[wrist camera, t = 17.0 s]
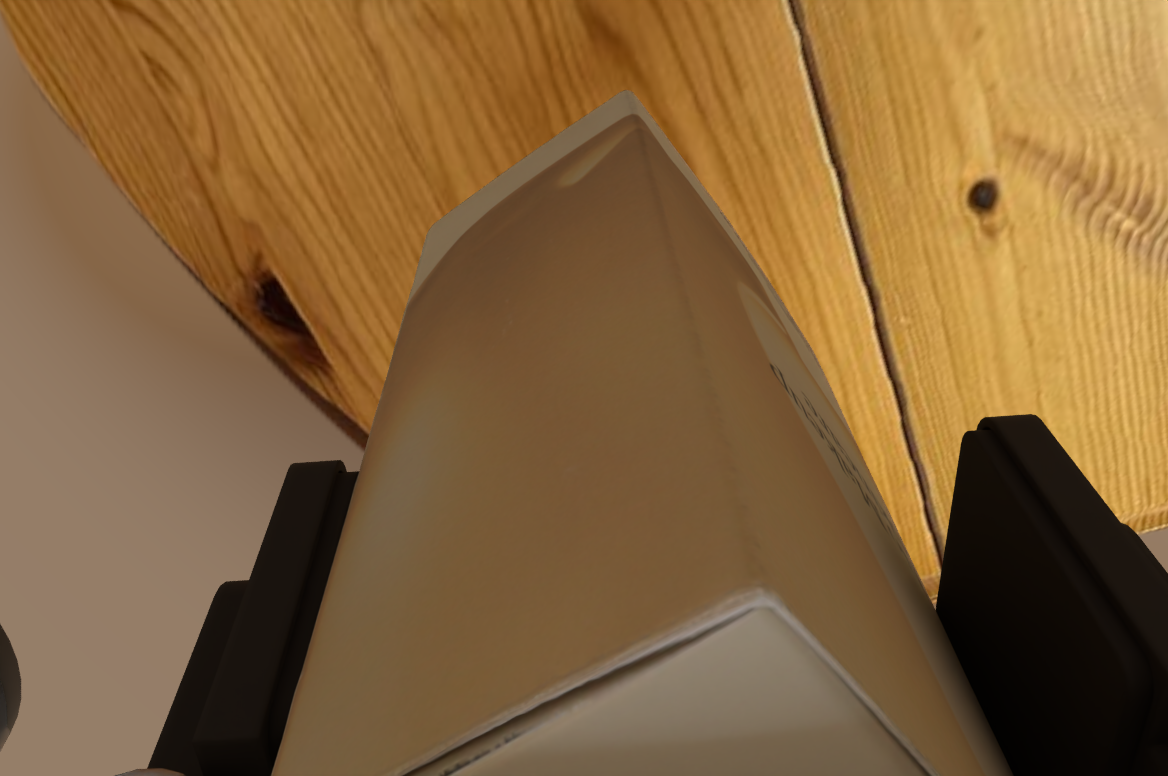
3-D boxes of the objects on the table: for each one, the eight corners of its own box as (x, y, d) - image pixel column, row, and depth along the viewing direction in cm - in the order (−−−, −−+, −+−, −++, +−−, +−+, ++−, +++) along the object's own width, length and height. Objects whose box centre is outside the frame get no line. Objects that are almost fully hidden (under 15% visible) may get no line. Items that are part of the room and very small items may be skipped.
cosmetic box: (820, 352, 19) (1183, 1067, 9) (624, 472, 20) (728, 1234, 10) (618, 60, 16) (787, 587, 6) (404, 219, 17) (214, 903, 7)
